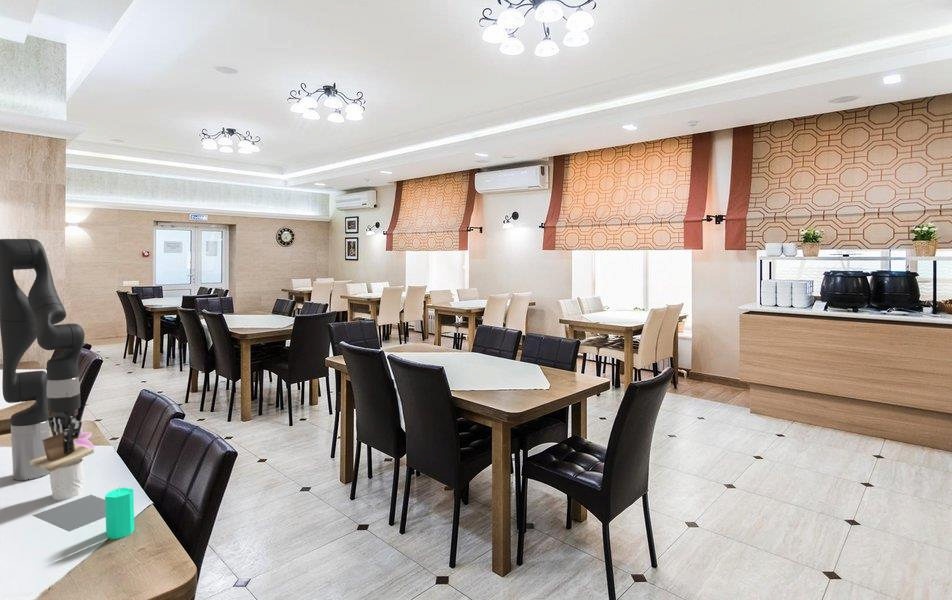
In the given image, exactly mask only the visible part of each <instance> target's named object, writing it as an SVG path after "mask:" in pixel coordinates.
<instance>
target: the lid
mask: <svg viewBox="0 0 952 600" xmlns="http://www.w3.org/2000/svg"><path fill="white" fill-rule="evenodd" d="M42 441H43V445H44V449H45V453H46V455H43V456H41V457H38V458H36V459H33V460H31V461H29V463H30V465H33V466H36V467H39V468H41V469H44V470H47V471H50V472H51V471H53V470H56V469H58V468H60V467H63V466H65V465H67V464H69V463H72V462H74V461H76V460H79V459H81V458H82V459H83V458H85V457H88V456H90V455H93V454H94V453H95V449H90V448H86V447H83V446H80V445H76V444H74V442H73V448H74V451H73V452H72V453H69V454H64V445H63V442H64V441H63V435H62V434H61V433H60V434H57V435H54V436H53V435H52V436H50V437H49V438H47V439H44V440H42Z"/></svg>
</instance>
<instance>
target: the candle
mask: <svg viewBox="0 0 952 600" xmlns="http://www.w3.org/2000/svg"><path fill="white" fill-rule="evenodd" d="M104 495H105V496H104V500H105V510H106V517H105V531H106V532H105V533H106V536H107V539H109V540H115V539H116V540H117V539H121V538H122V539H123V538H126V537H128V536H129V534H130V535H131V533H132V532H133V531H134V532H135V505H134V504H135V503H134V502H135V501H134V488H128V487H120V486H118V488H116V489H113V490H110V491H108V492H107V493H106V494H104ZM134 532H133V533H134ZM133 533H132V534H133ZM127 535H128V536H127Z"/></svg>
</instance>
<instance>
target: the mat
mask: <svg viewBox="0 0 952 600" xmlns="http://www.w3.org/2000/svg"><path fill="white" fill-rule="evenodd" d="M32 516H33V517H35V518H38V519H40V520H42V521H44V522H47V523H49V524H52V525H53V526H56V527H58V528H61V529H62V530H65V531H67V532H72V531H74V530H76V529H77V530H78V529H79V528H81V527H84V526H86V525H90V524H92V523H94V522H97V521H99V520H102V519H106V510H105V498H101V497H99V496H95V495H93V494H90V495H86V496H84V497H81V498H78V499H75V500H72V501H69V502H66V503H64V504H61V505H57V506H54V507H52V508H49V509H46V510H43V511H40V512H38V513H35V514H33V515H32Z"/></svg>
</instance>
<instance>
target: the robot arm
mask: <svg viewBox="0 0 952 600" xmlns="http://www.w3.org/2000/svg"><path fill="white" fill-rule="evenodd" d="M47 256H48V255H47V253H46V250H45V248H44V246H43V243H42V242H41V241H39V240H38V239H34V238H1V239H0V338H1V339H0V340H1V348H2V350H1V351H2V383H1V384H2V386H1V387H2V397H3V399H4V401H5V402H6V403H8V404H13V403H24V402H32V401H35V402H34V403H33V404H32V405H30V406H29V407H27V408H25V409H23V410H22V409H21V410H20V411H17V412H15V413H14V414H12V415H11V416H10V433H11V434H10V435H11V436H10V437H11V438H10V439H11V456H12V457H11V458H12V477H13V478H14V479H13V478H12V479H13V480H15V479H16V480H15V481H29V480H33V478H34V479H38V478H41V476H42V477H45V476H47V475H49V474H50V472H49V471H47V470H44V469H41V468H39V467H36V466H33V465H30V463H29V461H31V460H33V459H36V458H38V457H41V456H43V455H46V453H45V449H44V445H43V441H42V440H44V439H47V438H49V437H51V434H52V436H54V435H57V434H60V433H61V434H62V435H63V441H64V442H63V445H64V454H69V453H72V452H73V451H74V448H73V440H74V439H77V438H78V436H79V433H80V429H81V426H82V425H83V424H82V423H83V422H82V420H77V415H76V411H77V410H78V409H80V408H81V406H82V405H81V384H80V379H79V361H80V357H81V356H80V355H81V351H82V348H83V344H84V342H85V337H86V336H85V331H84V328H82V326H81V325H80V324H78V323H64V324H59V323H61V322H63V321H64V320H65V319H66V317H67V311H66V310H65V306H64V305H63V303H62V301H61V299H60V297H59V295H58V292H57V290H56V286H55V281H54V279H53V275H52V272H51V271H52V270H51V267H50V263H49V260H48V257H47ZM17 270H18V271H21V270H34V271H35V279H34V282H33V284H32V286H31V287H30V289H29V292H28V295H26V293H24V291H23V290H22V289H21V288H20V286H19V285H18V284H17V281H16V278H15V275H14V271H17ZM35 341H36V342H37V344H38V346H39V348H41V349H43V350H45V351H55V350H64V351H63V353H62V354H61V355H58V356H56V357H52V358H50V359H48V360H47V361H46V371H45V370H34V371H33V370H32V371H31V370H30V371H23V372H17V369H18V365H19V363H20V361H21V360H22V358H23V356H24V355H25V353H26V352H27V351H28V350H29V348H30V347H31V346H32V345H33V343H35ZM49 413H50V414H51V413H52V416H49V415H50V414H49ZM50 431H51V432H50ZM74 433H75V434H74ZM48 473H49V474H48ZM44 475H45V476H44ZM28 479H29V480H28Z"/></svg>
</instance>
